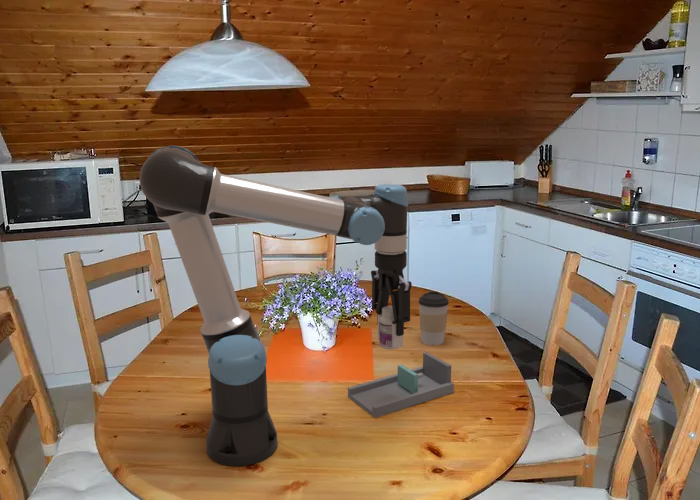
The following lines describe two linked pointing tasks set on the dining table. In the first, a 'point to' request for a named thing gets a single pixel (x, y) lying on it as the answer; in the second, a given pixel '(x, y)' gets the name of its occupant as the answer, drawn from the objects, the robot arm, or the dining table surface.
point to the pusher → (408, 378)
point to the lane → (393, 397)
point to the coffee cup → (433, 317)
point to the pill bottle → (386, 327)
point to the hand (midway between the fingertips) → (390, 342)
